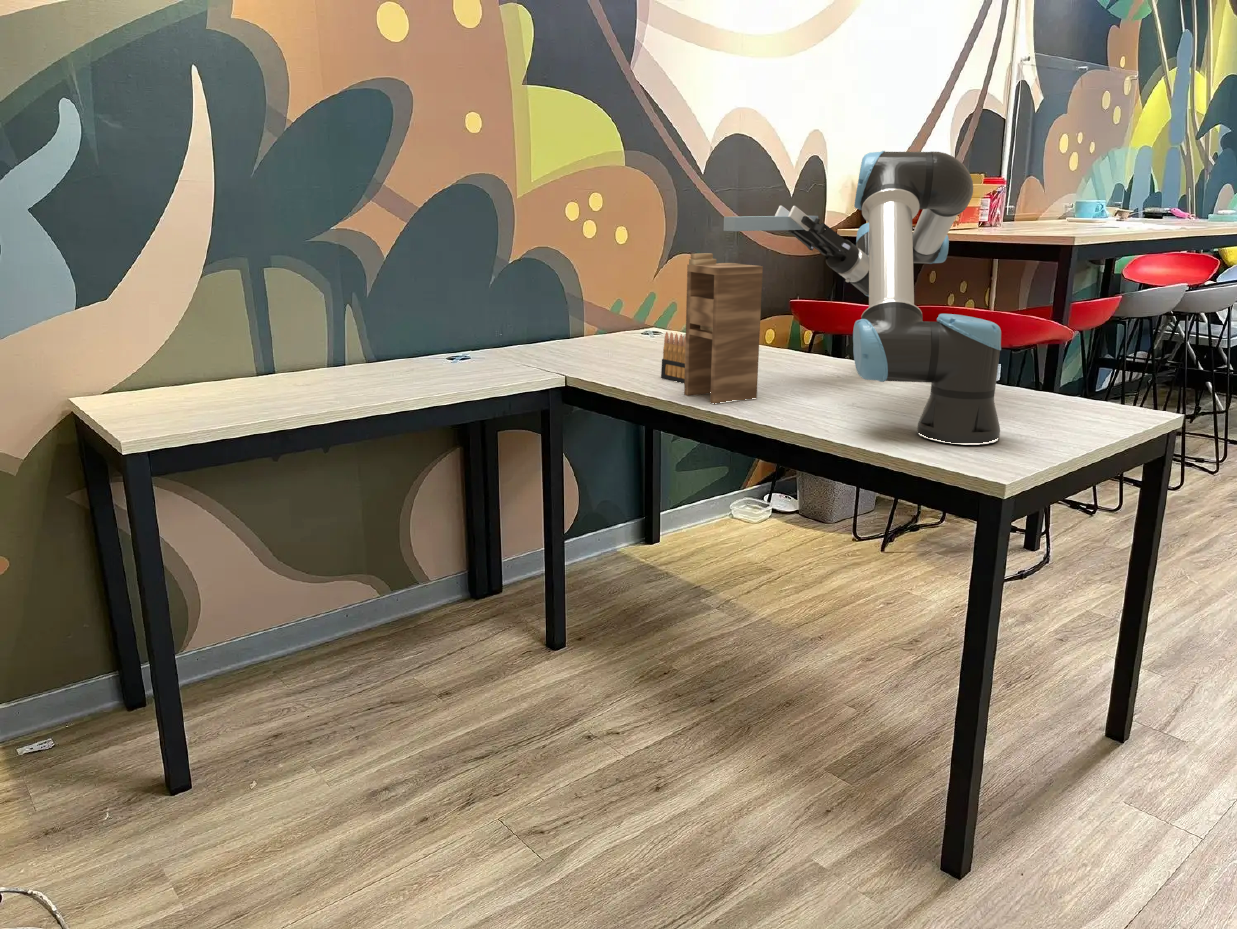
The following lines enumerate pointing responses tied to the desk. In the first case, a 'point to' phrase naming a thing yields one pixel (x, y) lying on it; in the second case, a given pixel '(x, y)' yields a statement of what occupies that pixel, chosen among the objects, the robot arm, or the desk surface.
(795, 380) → the desk surface
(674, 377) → the ammunition clip
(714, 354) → the rack
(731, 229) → the batten
